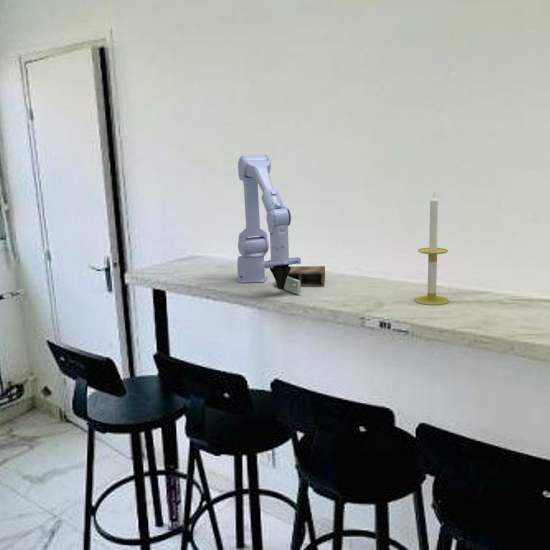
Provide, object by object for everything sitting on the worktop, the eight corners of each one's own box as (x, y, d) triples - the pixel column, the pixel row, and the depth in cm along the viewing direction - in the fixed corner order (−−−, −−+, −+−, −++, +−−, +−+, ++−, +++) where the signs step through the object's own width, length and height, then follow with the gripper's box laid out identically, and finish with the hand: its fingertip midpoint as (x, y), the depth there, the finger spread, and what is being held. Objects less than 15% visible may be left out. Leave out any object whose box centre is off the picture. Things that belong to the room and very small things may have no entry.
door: (275, 287, 202) (274, 274, 201) (280, 286, 203) (280, 273, 202) (295, 295, 191) (294, 281, 190) (300, 294, 191) (300, 280, 190)
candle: (449, 297, 183) (452, 189, 176) (448, 305, 174) (452, 192, 167) (415, 295, 186) (417, 190, 179) (413, 304, 177) (415, 193, 170)
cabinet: (276, 286, 204) (275, 272, 203) (279, 280, 213) (279, 266, 212) (323, 286, 202) (323, 272, 200) (325, 280, 211) (324, 266, 210)
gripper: (265, 250, 182) (267, 294, 185) (305, 245, 190) (306, 287, 193) (254, 247, 188) (256, 290, 191) (293, 242, 196) (294, 283, 198)
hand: (280, 288), depth 192 cm, fingers closed
